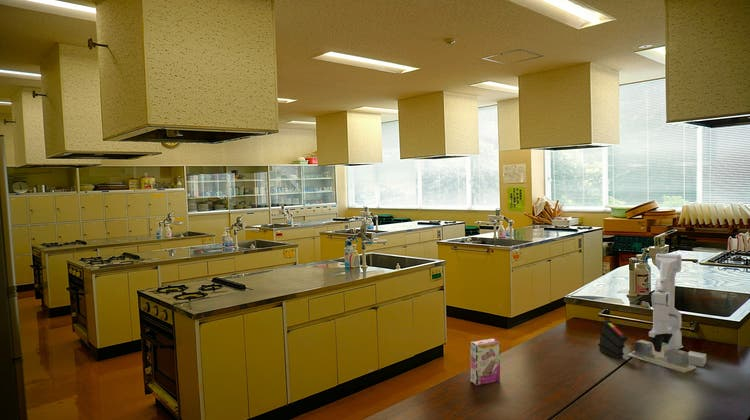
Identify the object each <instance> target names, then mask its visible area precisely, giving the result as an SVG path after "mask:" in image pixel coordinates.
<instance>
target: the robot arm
mask: <svg viewBox="0 0 750 420" xmlns="http://www.w3.org/2000/svg"><path fill="white" fill-rule="evenodd" d="M655 266H656V269H657V270H658V271H659V277H658V278H657V279H656V281H655V286H654V292H651V297H650V298H651V306H652V329H651V330H650V331H648V338H650V340H651V342H652V343H653V346H654V349H655V351H656V352H661V347H662V342H664V343H668V344H669V350H670V349H673V348H674V349H678V350H681V349H682V348H684V345H682V336H683V335H682V331H681V330H680V329H681V328H682V313H681V311H679V310H678V309H677V308H675V291H676V290H675V288H676V274H677V273H680V272H682V271H681V270H682V255H681V254H673V253H671V254H670V253H659V252H657V253H656V254H655Z"/></svg>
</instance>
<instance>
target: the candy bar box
mask: <svg viewBox="0 0 750 420" xmlns="http://www.w3.org/2000/svg"><path fill="white" fill-rule="evenodd" d="M469 346H470V351H469V352H470V354H469V355H470V357H469V359H470V382H471V383H472V384H473V385H475V387H477V386H483V385H487V384H493V383H497V382H500V381H501V342H500V341H499V340H497V339H495V338H488V339H481V340H476V341H470V345H469Z"/></svg>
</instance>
